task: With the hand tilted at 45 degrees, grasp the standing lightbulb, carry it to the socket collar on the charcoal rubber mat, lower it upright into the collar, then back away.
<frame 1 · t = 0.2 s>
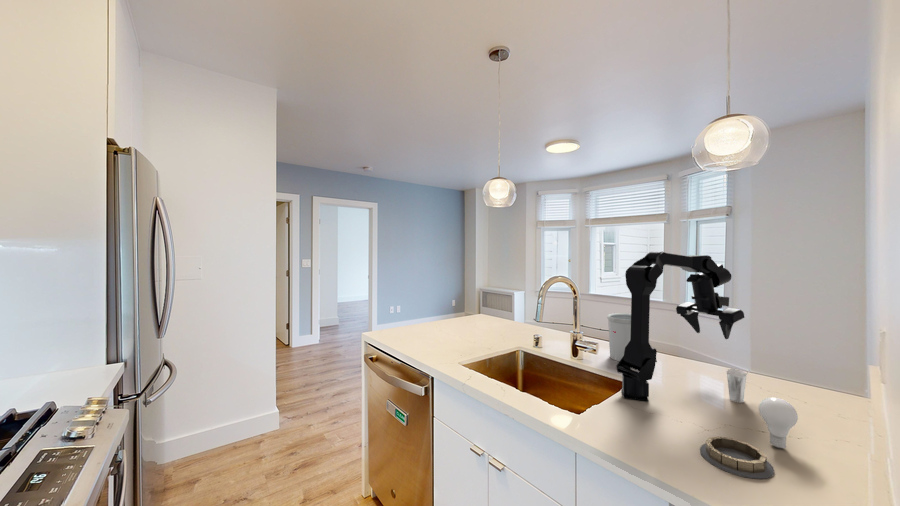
hand: (712, 335, 116), 15 cm above the worktop, tool pointing down, fingers open, 9 cm apart
socket collar: (735, 453, 73), on the socket mat
socket mat: (735, 460, 73), on the worktop
utensil holder: (627, 359, 141), on the worktop
milkshake: (738, 401, 101), on the worktop
lightbulb: (777, 448, 77), on the worktop
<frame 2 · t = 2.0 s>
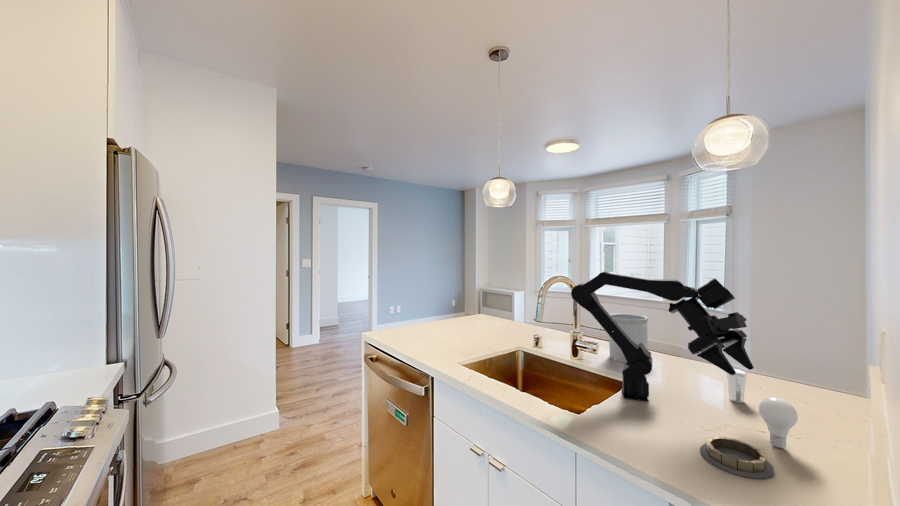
hand: (743, 371, 86), 14 cm above the worktop, tool tilted 40°, fingers open, 9 cm apart
nothing on the worktop moved.
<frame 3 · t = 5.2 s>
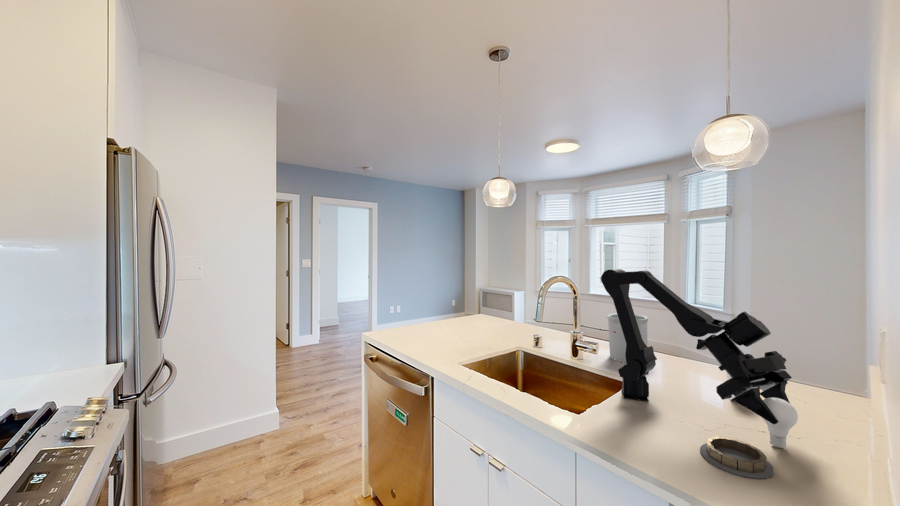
hand: (785, 420, 76), 7 cm above the worktop, tool tilted 45°, fingers closed on lightbulb, 6 cm apart
lightbulb: (777, 448, 77), on the worktop, touching gripper
everything else where it was.
when the fingers open (8 cm above the worktop, at t = 10.3 s): lightbulb stays where it is, resting on socket mat.
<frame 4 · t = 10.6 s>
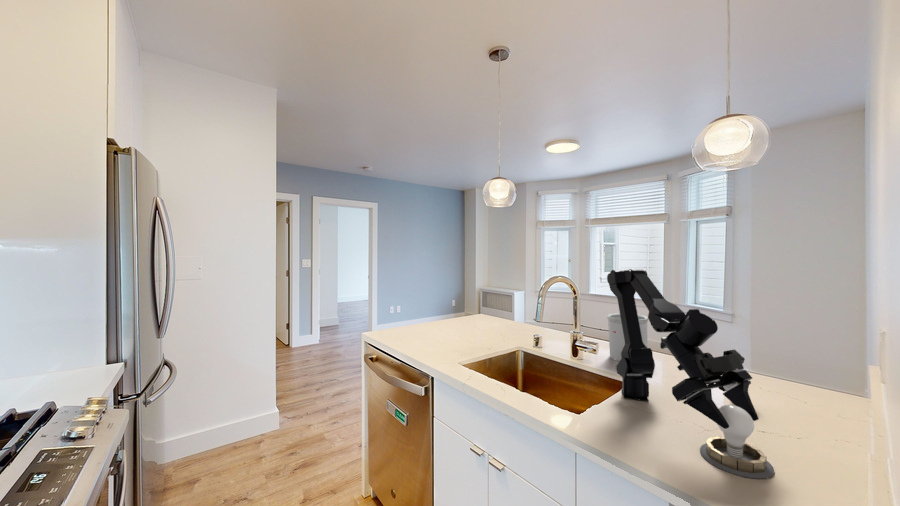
hand: (742, 424, 71), 8 cm above the worktop, tool tilted 45°, fingers open, 9 cm apart
lightbulb: (734, 458, 73), resting on socket mat
everything else where it was.
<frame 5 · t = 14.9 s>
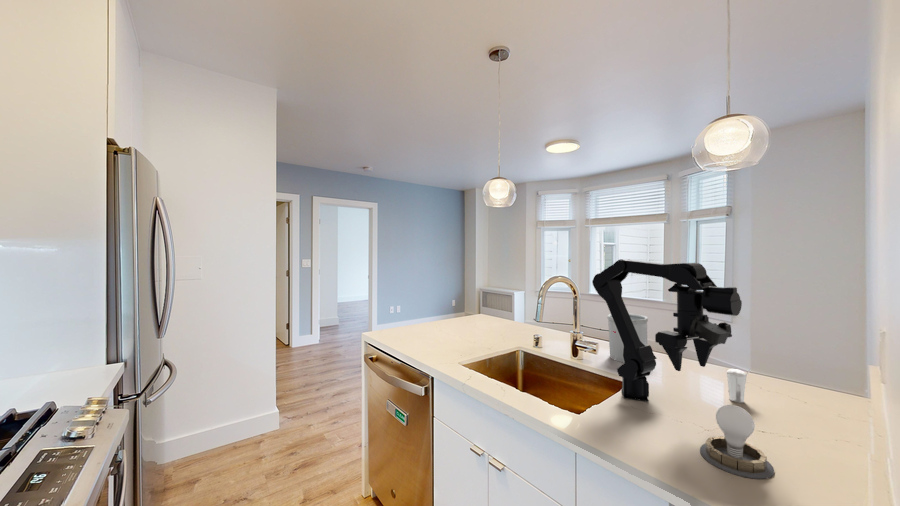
hand: (690, 368, 91), 13 cm above the worktop, tool pointing down, fingers open, 9 cm apart
nothing on the worktop moved.
at the end: lightbulb 0.2 cm off-centre on the socket collar, point 0.2 cm above the socket collar's base; lightbulb tilted 0°; the gripper is holding nothing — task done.
